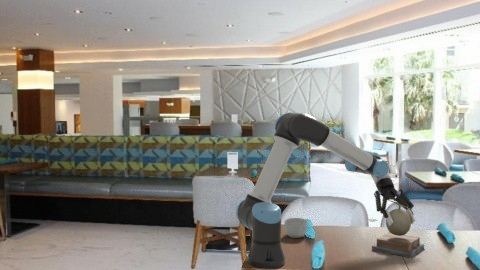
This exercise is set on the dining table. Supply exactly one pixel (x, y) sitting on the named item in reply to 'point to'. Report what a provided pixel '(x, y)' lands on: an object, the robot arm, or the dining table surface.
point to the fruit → (399, 221)
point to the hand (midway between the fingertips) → (402, 223)
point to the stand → (398, 245)
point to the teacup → (295, 227)
